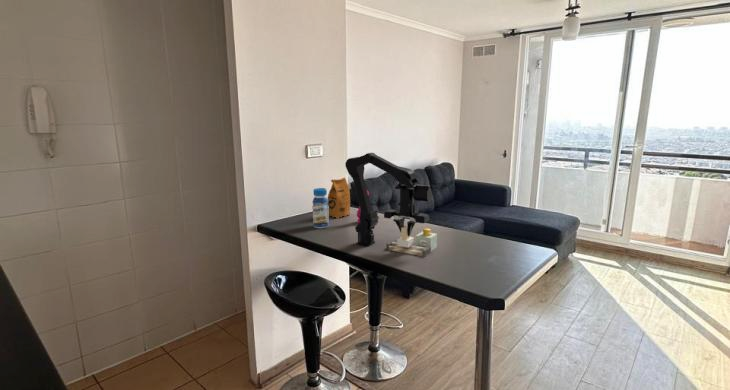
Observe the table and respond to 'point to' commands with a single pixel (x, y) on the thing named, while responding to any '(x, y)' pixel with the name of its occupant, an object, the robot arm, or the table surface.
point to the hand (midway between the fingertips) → (406, 235)
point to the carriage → (405, 238)
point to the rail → (409, 249)
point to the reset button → (426, 232)
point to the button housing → (426, 240)
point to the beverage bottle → (320, 208)
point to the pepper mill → (359, 211)
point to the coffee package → (339, 198)
